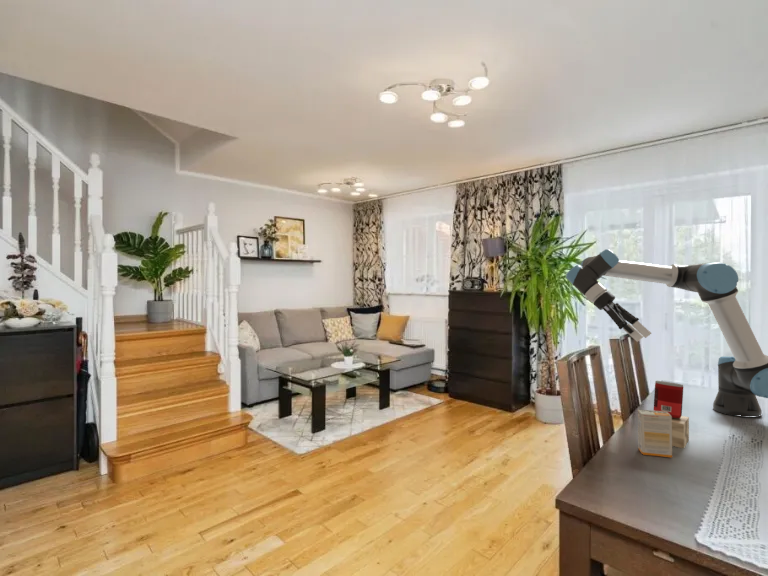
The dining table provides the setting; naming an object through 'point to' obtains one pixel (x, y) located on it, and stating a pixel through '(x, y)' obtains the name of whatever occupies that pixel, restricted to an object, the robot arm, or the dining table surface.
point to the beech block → (680, 431)
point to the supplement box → (655, 433)
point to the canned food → (668, 398)
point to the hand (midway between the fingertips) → (644, 337)
